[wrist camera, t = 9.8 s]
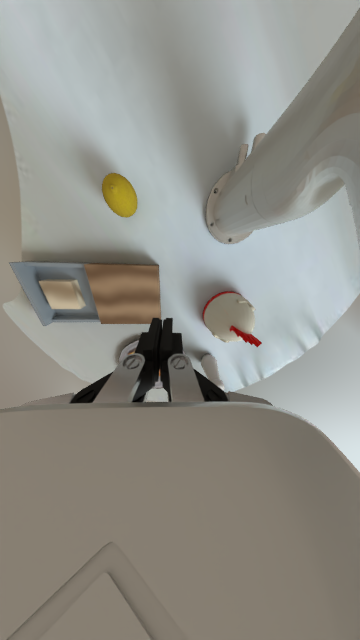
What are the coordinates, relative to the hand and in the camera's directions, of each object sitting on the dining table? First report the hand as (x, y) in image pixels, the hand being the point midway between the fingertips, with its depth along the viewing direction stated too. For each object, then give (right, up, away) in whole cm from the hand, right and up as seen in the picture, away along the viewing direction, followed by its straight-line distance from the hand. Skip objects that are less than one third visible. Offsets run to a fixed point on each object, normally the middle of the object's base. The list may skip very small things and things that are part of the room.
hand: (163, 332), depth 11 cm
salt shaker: (+12, -13, +38) cm, 42 cm away
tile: (-28, +7, +20) cm, 35 cm away
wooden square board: (-12, +9, +24) cm, 29 cm away
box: (-27, +8, +23) cm, 37 cm away
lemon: (-10, +25, +16) cm, 32 cm away
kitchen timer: (+16, +3, +29) cm, 33 cm away
